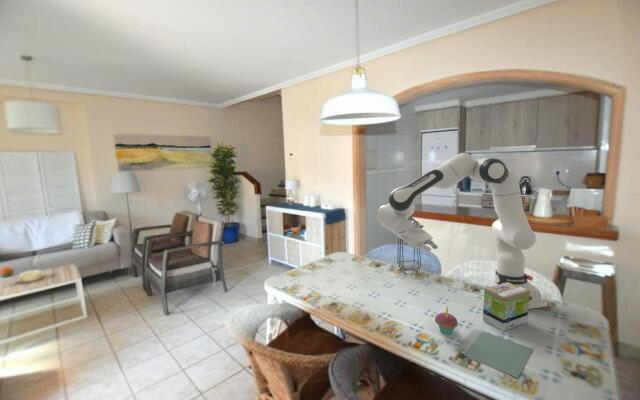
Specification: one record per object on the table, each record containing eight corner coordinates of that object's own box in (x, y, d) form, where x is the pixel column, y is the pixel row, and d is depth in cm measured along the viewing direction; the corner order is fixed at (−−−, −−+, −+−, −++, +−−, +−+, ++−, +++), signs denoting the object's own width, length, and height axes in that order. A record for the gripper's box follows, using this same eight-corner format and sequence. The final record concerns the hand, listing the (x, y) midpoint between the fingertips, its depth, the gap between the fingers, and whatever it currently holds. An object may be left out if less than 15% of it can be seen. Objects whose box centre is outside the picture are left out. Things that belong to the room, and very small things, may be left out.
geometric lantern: (398, 276, 177) (397, 218, 173) (394, 267, 193) (393, 214, 188) (425, 276, 175) (424, 217, 171) (419, 267, 191) (418, 213, 187)
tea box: (504, 332, 119) (506, 297, 117) (481, 320, 128) (483, 287, 126) (528, 322, 125) (530, 289, 123) (505, 311, 134) (506, 280, 132)
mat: (474, 328, 123) (474, 327, 123) (533, 349, 108) (533, 348, 108) (454, 351, 109) (454, 350, 109) (517, 379, 95) (517, 377, 95)
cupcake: (459, 338, 116) (460, 309, 115) (436, 336, 118) (437, 308, 116) (454, 325, 125) (455, 299, 123) (433, 324, 126) (433, 297, 125)
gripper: (401, 226, 125) (430, 246, 117) (418, 223, 141) (444, 241, 134) (393, 238, 127) (421, 258, 119) (411, 234, 143) (436, 252, 136)
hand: (433, 249), depth 127 cm, fingers open, 8 cm apart
